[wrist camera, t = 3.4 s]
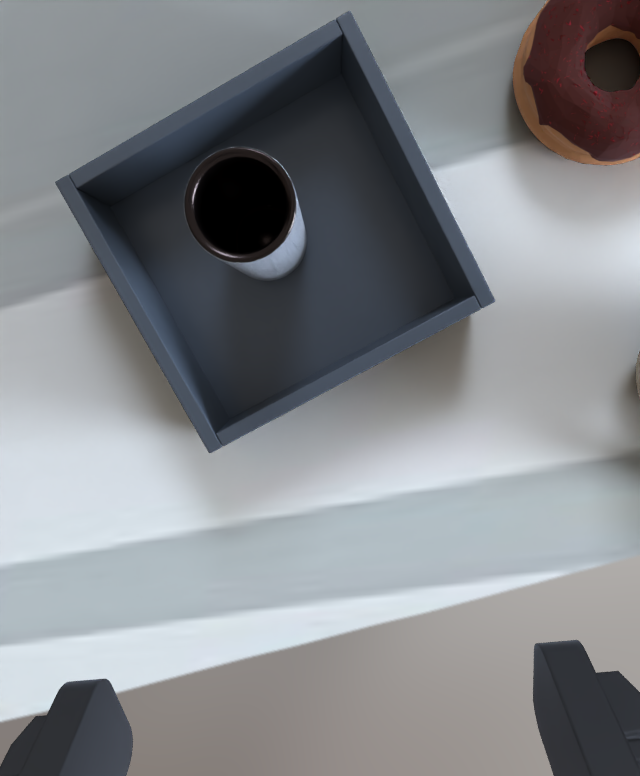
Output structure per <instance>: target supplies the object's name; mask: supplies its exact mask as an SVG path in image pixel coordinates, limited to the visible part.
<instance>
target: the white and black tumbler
mask: <svg viewBox="0 0 640 776" xmlns="http://www.w3.org/2000/svg"><path fill="white" fill-rule="evenodd" d="M184 213H185V218H186V222H187V225H188V227H189V230H190V232H191V234H192V235H193V237H194V238H195V240H196V241H197V242H198V244H199V245H200V246H201V247H202V248H203V249H204V250H206V251H207V252H208V253H209V254H211V255H212V256H214V257H216V258H218V259H219V260H221V261H223V262H225V263H226V264H228V265H230V266H232V267H233V268H235V269H237V270H239V271H240V272H242V273H244V274H246V275H248V276H249V277H252V278H254V279H258V280H264V281H271V280H277V279H280V278H283V277H285V276H287V275H289V274H290V273H291V272H293V271H294V270H295V269H296V268H297V266H298V265H299V264H300V262H301V260H302V259H303V256H304V253H305V250H306V242H307V237H306V230H305V226H304V222H303V218H302V215H301V211H300V207H299V203H298V199H297V195H296V192H295V188H294V185H293V183H292V181H291V178H290V177H289V175H288V173H287V172H286V170H285V169H284V168H283V166H282V165H281V164H280V163H279V162H278V161H277V160H275V159H274V158H273V157H271V156H270V155H268V154H267V153H265V152H263V151H260V150H258V149H254V148H250V147H229V148H225V149H222V150H219V151H217V152H215V153H213V154H211V155H210V156H208V157H207V158H205V159H204V160H203V161H202V162H201V163H200V164H199V165H198V166H197V168H196V169H195V170H194V172H193V173H192V175H191V177H190V179H189V181H188V184H187V187H186V190H185V195H184Z"/></svg>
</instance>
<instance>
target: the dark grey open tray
mask: <svg viewBox="0 0 640 776" xmlns="http://www.w3.org/2000/svg"><path fill="white" fill-rule="evenodd" d="M229 147H250V148H254V149H258V150H260V151H263V152H265V153H267V154H268V155H270V156H271V157H273V158H274V159H275V160H277V161H278V162H279V163H280V164H281V165H282V166H283V168H284V169H285V170H286V172H287V173H288V175H289V177H290V178H291V181H292V183H293V185H294V188H295V192H296V195H297V199H298V203H299V207H300V211H301V215H302V218H303V222H304V226H305V230H306V237H307V242H306V250H305V253H304V256H303V259H302V260H301V262H300V264H299V265H298V266H297V268H296V269H295V270H294V271H293V272H291V273H290V274H289V275H287V276H285V277H283V278H280V279H277V280H271V281H264V280H258V279H254V278H252V277H249V276H248V275H246V274H244V273H242V272H240V271H239V270H237V269H235V268H233V267H232V266H230V265H228V264H226V263H225V262H223V261H221V260H219V259H218V258H216V257H214V256H212V255H211V254H209V253H208V252H207V251H206V250H204V249H203V248H202V247H201V246H200V245H199V244H198V242H197V241H196V240H195V238H194V237H193V235H192V234H191V232H190V230H189V227H188V225H187V222H186V218H185V213H184V195H185V190H186V187H187V184H188V181H189V179H190V177H191V175H192V173H193V172H194V170H195V169H196V168H197V166H198V165H199V164H200V163H201V162H202V161H203V160H204V159H205V158H207V157H208V156H210V155H211V154H213V153H215V152H217V151H219V150H222V149H225V148H229ZM55 183H56V185H57V187H58V189H59V190H60V192H61V194H62V196H63V197H64V199H65V201H66V203H67V204H68V206H69V208H70V210H71V211H72V213H73V215H74V217H75V218H76V220H77V222H78V224H79V226H80V227H81V229H82V231H83V233H84V234H85V236H86V238H87V240H88V241H89V243H90V245H91V247H92V248H93V250H94V252H95V254H96V255H97V257H98V259H99V261H100V262H101V264H102V266H103V268H104V269H105V271H106V273H107V275H108V276H109V278H110V280H111V282H112V283H113V285H114V287H115V289H116V290H117V292H118V294H119V296H120V297H121V299H122V301H123V303H124V305H125V306H126V308H127V310H128V312H129V313H130V315H131V317H132V319H133V320H134V322H135V324H136V326H137V327H138V329H139V331H140V333H141V334H142V336H143V338H144V340H145V341H146V343H147V345H148V347H149V348H150V350H151V352H152V354H153V355H154V357H155V359H156V361H157V362H158V364H159V366H160V368H161V369H162V371H163V373H164V375H165V376H166V378H167V380H168V382H169V384H170V385H171V387H172V389H173V391H174V392H175V394H176V396H177V398H178V399H179V401H180V403H181V405H182V406H183V408H184V410H185V412H186V413H187V415H188V417H189V419H190V420H191V422H192V424H193V426H194V427H195V429H196V431H197V433H198V434H199V436H200V438H201V440H202V441H203V443H204V445H205V447H206V448H207V450H208V452H209V453H212V452H214V451H216V450H217V449H219V448H221V447H222V446H225V445H227V444H229V443H231V442H232V441H234V440H236V439H238V438H240V437H242V436H244V435H246V434H248V433H249V432H251V431H253V430H255V429H257V428H259V427H261V426H263V425H264V424H266V423H268V422H270V421H272V420H274V419H276V418H278V417H279V416H281V415H283V414H285V413H287V412H289V411H291V410H293V409H294V408H296V407H298V406H300V405H302V404H304V403H306V402H308V401H310V400H311V399H313V398H315V397H317V396H319V395H321V394H323V393H325V392H326V391H328V390H330V389H332V388H334V387H336V386H338V385H340V384H341V383H343V382H345V381H347V380H349V379H351V378H353V377H355V376H356V375H358V374H360V373H362V372H364V371H366V370H368V369H370V368H371V367H373V366H375V365H377V364H379V363H381V362H383V361H385V360H387V359H388V358H390V357H392V356H394V355H396V354H398V353H400V352H402V351H403V350H405V349H407V348H409V347H411V346H413V345H415V344H417V343H418V342H420V341H422V340H424V339H426V338H428V337H430V336H432V335H433V334H435V333H437V332H439V331H441V330H443V329H445V328H447V327H449V326H450V325H452V324H454V323H456V322H458V321H460V320H462V319H464V318H465V317H467V316H469V315H471V314H473V313H475V312H477V311H479V310H480V309H481V308H484V307H486V306H488V305H490V304H492V303H494V302H495V299H494V297H493V295H492V293H491V291H490V289H489V287H488V285H487V283H486V281H485V279H484V277H483V275H482V273H481V271H480V269H479V267H478V265H477V263H476V261H475V259H474V257H473V255H472V253H471V251H470V249H469V247H468V245H467V243H466V241H465V239H464V237H463V235H462V233H461V231H460V229H459V227H458V225H457V223H456V221H455V219H454V217H453V215H452V213H451V211H450V209H449V207H448V205H447V203H446V201H445V199H444V197H443V195H442V193H441V191H440V189H439V187H438V185H437V183H436V181H435V179H434V177H433V175H432V173H431V171H430V169H429V167H428V165H427V163H426V161H425V159H424V157H423V155H422V153H421V151H420V149H419V147H418V145H417V143H416V141H415V139H414V137H413V135H412V133H411V131H410V129H409V127H408V125H407V123H406V121H405V119H404V117H403V115H402V113H401V111H400V109H399V107H398V105H397V103H396V101H395V99H394V97H393V95H392V93H391V91H390V89H389V87H388V85H387V83H386V81H385V79H384V77H383V75H382V73H381V71H380V69H379V67H378V65H377V63H376V61H375V59H374V57H373V55H372V53H371V51H370V49H369V47H368V45H367V43H366V41H365V39H364V37H363V35H362V33H361V31H360V29H359V27H358V25H357V23H356V21H355V19H354V17H353V15H352V13H351V11H348V12H346V13H345V14H343V15H341V16H340V17H338V18H337V19H336V20H333V21H331V22H329V23H328V24H326V25H324V26H322V27H321V28H319V29H317V30H316V31H314V32H312V33H310V34H309V35H307V36H305V37H304V38H302V39H300V40H298V41H297V42H295V43H293V44H292V45H290V46H288V47H286V48H285V49H283V50H281V51H280V52H278V53H276V54H274V55H273V56H271V57H269V58H268V59H266V60H264V61H262V62H261V63H259V64H257V65H256V66H254V67H252V68H250V69H249V70H247V71H245V72H244V73H242V74H240V75H238V76H237V77H235V78H233V79H232V80H230V81H228V82H226V83H225V84H223V85H221V86H219V87H218V88H216V89H214V90H213V91H211V92H209V93H207V94H206V95H204V96H202V97H201V98H199V99H197V100H195V101H194V102H192V103H190V104H189V105H187V106H185V107H183V108H182V109H180V110H178V111H177V112H175V113H173V114H171V115H170V116H168V117H166V118H165V119H163V120H161V121H159V122H158V123H156V124H154V125H153V126H151V127H149V128H147V129H146V130H144V131H142V132H141V133H139V134H137V135H135V136H134V137H132V138H130V139H129V140H127V141H125V142H123V143H122V144H120V145H118V146H116V147H115V148H113V149H111V150H110V151H108V152H106V153H104V154H103V155H101V156H99V157H98V158H96V159H94V160H92V161H91V162H89V163H87V164H86V165H84V166H82V167H80V168H79V169H77V170H75V171H74V172H72V173H70V174H69V175H67V176H65V177H63V178H61V179H60V180H58V181H56V182H55Z"/></svg>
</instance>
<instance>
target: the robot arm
mask: <svg viewBox="0 0 640 776" xmlns="http://www.w3.org/2000/svg"><path fill="white" fill-rule="evenodd" d="M533 679H534V680H533V702H534V710H535V715H536V719H537V724H538V728H539V732H540V735H541V738H542V741H543V744H544V747H545V750H546V753H547V756H548V759H549V762H550V765H551V768H552V771H553V775H554V776H640V692H639V691H638V690H637V689H636V688H635V687H634V686H633V685H632V684H631V683H630V682H629V681H628V680H627V679H626V678H624V676H622V674H621V673H620V672H619V671H612V672H601V673H596V672H595V670H594V668H593V666H592V663H591V661H590V659H589V657H588V655H587V653H586V651H585V649H584V647H583V645H582V644H581V643H580V642H579V641H578V640H571V641H559V642H548V643H537V644H535V646H534V677H533ZM132 747H133V738H132V731H131V727H130V724H129V722H128V720H127V718H126V716H125V714H124V711H123V709H122V707H121V705H120V703H119V700H118V698H117V696H116V694H115V691H114V689H113V687H112V685H111V683H110V682H109V681H108V680H107V679H96V680H84V681H73V682H67V683H65V684H64V685H63V686H62V687H61V688H60V690H59V691H58V693H57V695H56V697H55V699H54V701H53V703H52V705H51V708H50V710H49V712H48V714H47V715H45V716H36V717H35V718H34V719H33V720H32V722H30V724H29V725H28V726H27V727H26V728H25V729H24V731H23V732H22V733H21V734H20V735H19V736H18V738H17V739H16V740H15V741H14V742H13V743H12V744H11V746H10V748H9V750H8V753H7V754H6V756H5V758H4V760H3V762H2V764H1V766H0V776H126V775H127V771H128V768H129V765H130V761H131V756H132Z"/></svg>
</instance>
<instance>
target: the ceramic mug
mask: <svg viewBox="0 0 640 776" xmlns="http://www.w3.org/2000/svg"><path fill="white" fill-rule="evenodd" d="M636 384H637V390H638V395H639V399H640V351H639V354H638V358H637V363H636Z"/></svg>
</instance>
